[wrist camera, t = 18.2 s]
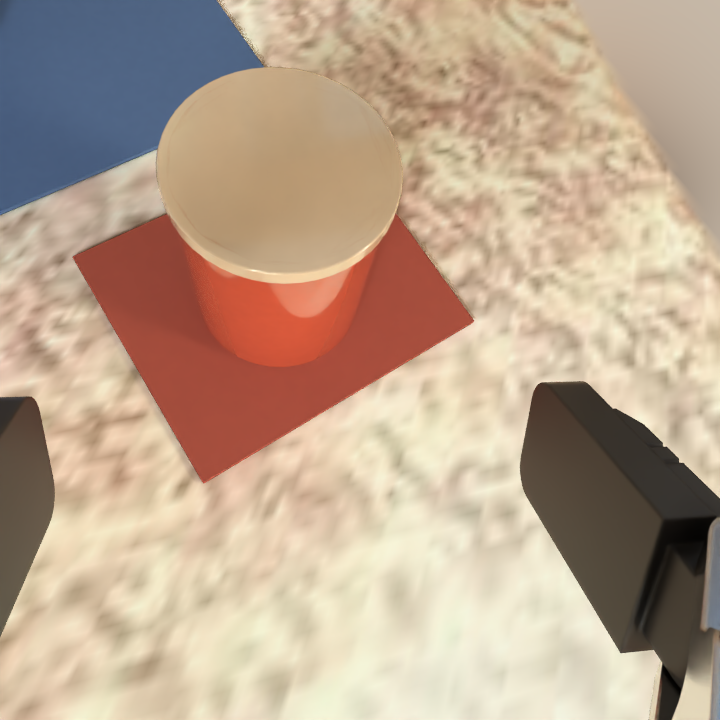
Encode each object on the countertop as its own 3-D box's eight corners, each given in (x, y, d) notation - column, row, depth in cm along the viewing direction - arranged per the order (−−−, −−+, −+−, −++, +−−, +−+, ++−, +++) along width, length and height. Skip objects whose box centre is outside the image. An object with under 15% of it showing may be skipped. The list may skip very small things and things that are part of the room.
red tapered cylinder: (247, 405, 23) (235, 318, 15) (160, 262, 24) (110, 119, 17) (396, 320, 25) (449, 206, 17) (307, 192, 26) (321, 35, 19)
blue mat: (-94, 254, 23) (-97, 252, 23) (-219, 8, 26) (-223, 3, 26) (282, 96, 28) (282, 92, 28) (142, -100, 31) (142, -104, 30)
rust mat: (203, 483, 22) (203, 483, 22) (73, 258, 24) (72, 256, 24) (472, 322, 25) (474, 320, 25) (338, 138, 28) (339, 134, 27)
